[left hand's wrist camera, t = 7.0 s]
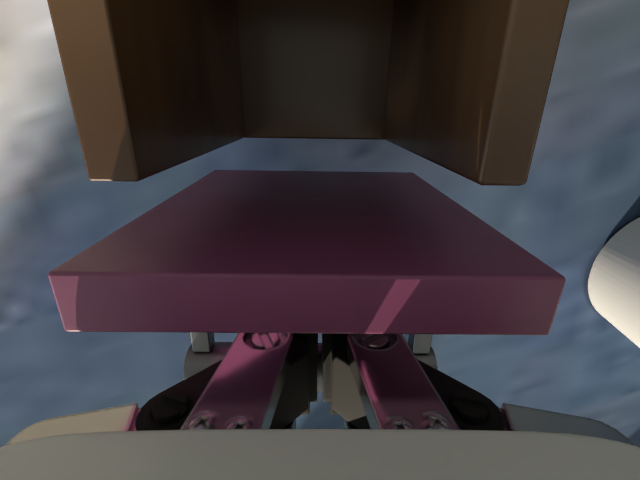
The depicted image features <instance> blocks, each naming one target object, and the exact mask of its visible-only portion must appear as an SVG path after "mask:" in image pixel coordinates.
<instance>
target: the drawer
mask: <svg viewBox="0 0 640 480" xmlns="http://www.w3.org/2000/svg"><path fill="white" fill-rule="evenodd" d="M47 1H48V5H49V10H50V14H51V18H52V23H53V27H54V31H55V36H56V40H57V44H58V48H59V53H60V57H61V61H62V66H63V70H64V74H65V79H66V83H67V87H68V92H69V96H70V100H71V104H72V109H73V113H74V117H75V122H76V126H77V130H78V135H79V139H80V143H81V148H82V152H83V156H84V161H85V165H86V169H87V173H88V178H89V180H92V181H139V180H142V179H144V178H147V177H149V176H152V175H154V174H156V173H159V172H161V171H164V170H166V169H169V168H171V167H173V166H176V165H178V164H181V163H183V162H186V161H188V160H191V159H193V158H195V157H198V156H200V155H203V154H205V153H208V152H210V151H212V150H215V149H217V148H220V147H222V146H225V145H227V144H230V143H232V142H234V141H237V140H239V139H242V138H314V139H384V140H387V141H389V142H391V143H394V144H396V145H398V146H400V147H402V148H404V149H406V150H408V151H410V152H413V153H415V154H417V155H419V156H421V157H423V158H425V159H427V160H430V161H432V162H434V163H436V164H438V165H440V166H442V167H444V168H446V169H449V170H451V171H453V172H455V173H457V174H459V175H461V176H463V177H465V178H468V179H470V180H472V181H474V182H476V183H478V184H480V185H506V186H520V185H523V184H525V183H526V181H527V178H528V174H529V170H530V165H531V161H532V157H533V153H534V148H535V144H536V140H537V136H538V131H539V127H540V123H541V119H542V114H543V110H544V106H545V102H546V97H547V93H548V89H549V85H550V80H551V76H552V72H553V67H554V63H555V59H556V55H557V50H558V46H559V42H560V38H561V33H562V29H563V25H564V21H565V16H566V12H567V8H568V4H569V0H47ZM48 278H49V281H50V284H51V287H52V291H53V294H54V297H55V300H56V304H57V307H58V310H59V313H60V317H61V320H62V323H63V326H64V329H65V330H66V331H79V332H190V338H191V346H190V347H189V349H188V352H187V355H186V358H185V363H184V373H183V377H184V380H185V379H187V378H189V377H191V376H192V375H194V374H196V373H198V372H200V371H202V370H204V369H205V368H207V367H209V366H211V365H213V364H215V363H217V362H218V361H220V360H222V359H223V358H224V356H225V355H226V353H227V351H228V350H229V348H230V347H231V345H232V343H233V342H214V341H215V340H214V333H341V334H409V340H408V345H409V347H410V348H411V350H412V351H413V353H414V355H415V356H416V358H417V359H418V360H420V361H422V362H424V363H425V364H427V365H429V366H431V367H433V368H435V369H436V370H437V362H436V357H435V354H434V351H433V349H432V347H431V340H432V334H473V335H547V334H549V332H550V329H551V326H552V323H553V319H554V316H555V313H556V310H557V307H558V303H559V300H560V297H561V294H562V290H563V287H564V284H565V277H564V276H562V275H561V274H559V273H558V272H557V271H555V270H554V269H552V268H551V267H549V266H548V265H546V264H545V263H543V262H542V261H540V260H539V259H538V258H536V257H535V256H533V255H532V254H530V253H529V252H527V251H526V250H524V249H523V248H522V247H520V246H519V245H517V244H516V243H514V242H513V241H511V240H510V239H508V238H507V237H506V236H504V235H503V234H501V233H500V232H498V231H497V230H495V229H494V228H492V227H491V226H489V225H488V224H487V223H485V222H484V221H482V220H481V219H479V218H478V217H476V216H475V215H473V214H472V213H471V212H469V211H468V210H466V209H465V208H463V207H462V206H460V205H459V204H457V203H456V202H455V201H453V200H452V199H450V198H449V197H447V196H446V195H444V194H443V193H441V192H440V191H438V190H437V189H436V188H434V187H433V186H431V185H430V184H428V183H427V182H425V181H424V180H422V179H421V178H420V177H418V176H417V175H415V174H414V173H396V172H319V171H243V170H215V171H213V172H211V173H210V174H208V175H207V176H205V177H203V178H202V179H200V180H198V181H197V182H195V183H193V184H192V185H190V186H189V187H187V188H185V189H184V190H182V191H180V192H179V193H177V194H176V195H174V196H172V197H171V198H169V199H167V200H166V201H164V202H162V203H161V204H159V205H158V206H156V207H154V208H153V209H151V210H149V211H148V212H146V213H145V214H143V215H141V216H140V217H138V218H136V219H135V220H133V221H132V222H130V223H128V224H127V225H125V226H123V227H122V228H120V229H118V230H117V231H115V232H114V233H112V234H110V235H109V236H107V237H105V238H104V239H102V240H101V241H99V242H97V243H96V244H94V245H92V246H91V247H89V248H87V249H86V250H84V251H83V252H81V253H79V254H78V255H76V256H74V257H73V258H71V259H70V260H68V261H66V262H65V263H63V264H61V265H60V266H58V267H57V268H55V269H53V270H52V271H50V272H49V273H48ZM317 391H323V356H322V343H318V363H317Z"/></svg>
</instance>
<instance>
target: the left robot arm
mask: <svg viewBox="0 0 640 480" xmlns="http://www.w3.org/2000/svg"><path fill="white" fill-rule="evenodd" d="M322 356H323V402H330V411H331V414H339V415H340V416H342V417H343V418H344V429H296V418H297V417H298V416H300V415H301V414H309V412H310V402H317V363H318V333H238V335H237V337H236V338H235V340H234V342H233V343H232V345H231V347H230V348H229V350H228V351H227V353H226V355H225V356H224V358H223V359H222V360H220V361H218V362H217V363H215V364H213V365H211V366H209V367H207V368H205V369H204V370H202V371H200V372H198V373H196V374H194V375H192V376H191V377H189V378H187V379H185V380H183V381H181V382H180V383H178V384H176V385H174V386H172V387H170V388H168V389H167V390H165V391H163V392H161V393H159V394H158V395H156V396H155V397H153V398H152V399H150V400H149V401H148V402H147V403H146V404H145V405H144V406H143V407H142V408H138V404H137V403H134V404H128V405H122V406H117V407H111V408H106V409H100V410H94V411H89V412H83V413H77V414H72V415H66V416H60V417H55V418H50V419H47V420H43V421H40V422H37V423H35V424H33V425H31V426H29V427H27V428H25V429H24V430H22V431H21V432H20V433H18V434H17V435H16V436H14V437H13V438H12V439H11V440H10V441H9V442H8V444H7V445H6V446H3V447H0V480H640V447H637V446H634V445H633V443H632V442H631V441H630V440H629V439H628V438H627V437H626V436H624V435H623V434H622V433H620V432H619V431H618V430H616V429H615V428H613V427H611V426H609V425H607V424H605V423H603V422H600V421H597V420H593V419H590V418H585V417H580V416H574V415H568V414H563V413H557V412H551V411H546V410H540V409H534V408H529V407H523V406H518V405H512V404H506V403H503V404H502V408H498V407H497V406H496V405H495V404H494V403H493V402H492V401H491V400H490V399H488V398H487V397H485V396H484V395H482V394H481V393H479V392H477V391H475V390H473V389H472V388H470V387H468V386H466V385H464V384H462V383H461V382H459V381H457V380H455V379H453V378H451V377H449V376H448V375H446V374H444V373H442V372H440V371H438V370H436V369H435V368H433V367H431V366H429V365H427V364H425V363H424V362H422V361H420V360H418V359H417V358H416V356H415V355H414V353H413V351H412V350H411V348H410V347H409V345H408V343H407V342H406V340H405V338H404V337H403V335H402V334H341V333H322Z"/></svg>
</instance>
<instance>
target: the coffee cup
mask: <svg viewBox="0 0 640 480" xmlns="http://www.w3.org/2000/svg"><path fill="white" fill-rule="evenodd" d="M588 293H589V297H590V300H591V303H592V304H593V306H594V308H595V309H596V310H597V311H598V312H599V313H600V314H601V315H602V316H603V317H604V318H606V319H607V320H608V321H609V322H610V323H611V324H613V325H614V326H615V327H616V328H617V329H618V330H620V331H621V332H622V333H623V334H624V335H625V336H627V337H628V338H629V339H630V340H631V341H633V342H634V343H635V344H636V345H637V346H638V347H640V217H639V218H637V219H635V220H634V221H632V222H630V223H629V224H628V225H626V226H625V227H623V228H622V229H621V230H620V231H618V232H617V233H616V234H615V235H614V236H613V237H612V238H611V239H610V240H609V241H608V242H607V243H606V245H605V246H604V247H603V248H602V250H601V251H600V253H599V254H598V256H597V258H596V259H595V261H594V263H593V266H592V268H591V271H590V275H589V280H588Z"/></svg>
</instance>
